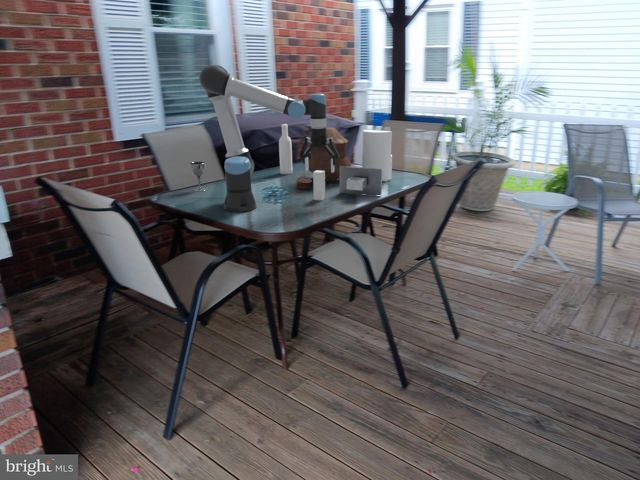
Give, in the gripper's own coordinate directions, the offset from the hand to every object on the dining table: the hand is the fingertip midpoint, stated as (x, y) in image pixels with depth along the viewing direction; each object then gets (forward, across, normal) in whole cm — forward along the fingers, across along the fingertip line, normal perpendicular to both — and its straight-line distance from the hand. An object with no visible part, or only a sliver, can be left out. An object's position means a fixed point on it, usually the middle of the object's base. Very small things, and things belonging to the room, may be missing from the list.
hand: (319, 171), depth 238 cm
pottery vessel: (+14, +10, -43) cm, 46 cm away
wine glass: (+13, +70, +2) cm, 71 cm away
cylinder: (+15, -16, -54) cm, 58 cm away
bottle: (+14, +42, -53) cm, 69 cm away
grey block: (+14, -16, -10) cm, 24 cm away
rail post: (+14, 0, 0) cm, 14 cm away
